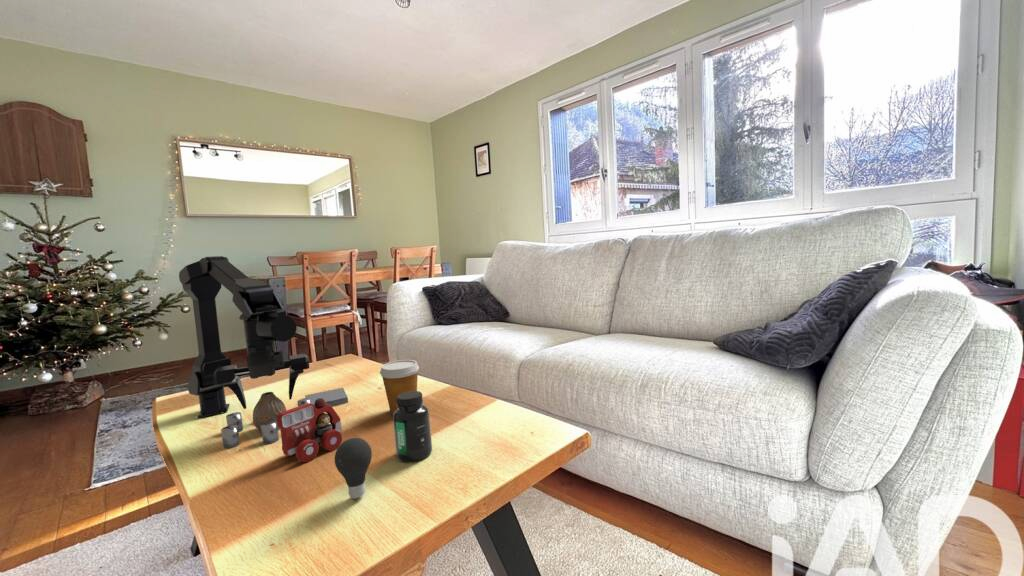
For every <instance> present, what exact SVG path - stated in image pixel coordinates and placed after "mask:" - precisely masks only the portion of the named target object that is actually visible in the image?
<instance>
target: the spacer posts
mask: <svg viewBox="0 0 1024 576" xmlns="http://www.w3.org/2000/svg"><path fill="white" fill-rule="evenodd" d="M307 403H311V398H305V397H304V398H300V399H298V400H297V407H298V406H301V405H304V404H307ZM225 419H226V420H225V421H226V426H224V427H222V428H221V429H220V432H221V440H222V447H223V449H226V450H228V449H233V448H236V447H238V446H239V445H240V444H241V440H240V432H242V431H243V430H244V425H243V417H242V412H240V411H238V412H237V411H236V412H232V413H229V414H227V415H225ZM261 431H262V432H261ZM261 431H260V432H261V438H262V444H264V445H270V444H274V443H276V442H277V441H279V439H280V438H279V431H278V429H277V422H276V421H268V422H265V423H263V424H261Z"/></svg>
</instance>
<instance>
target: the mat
mask: <svg viewBox="0 0 1024 576" xmlns="http://www.w3.org/2000/svg"><path fill="white" fill-rule="evenodd" d="M304 398H311V404H314V403H315V401H316V400H317V399H318V398H322V399H324V400H325V404H328V405H331V406H332V407H334V406H339V405H343V404H348V403H349V398H348V395H347V393H346V391H345V389H344V387H340V388H335V389H330V390H325V391H320V392H315V393H314V392H313V393H310V394H305V395H304Z"/></svg>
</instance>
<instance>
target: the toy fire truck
mask: <svg viewBox="0 0 1024 576" xmlns="http://www.w3.org/2000/svg"><path fill="white" fill-rule="evenodd" d="M276 420H277V426H278V427H279V428H280V429H279V430H280V438H281V450H282V453H283V455H284V456H288V457H294V456H295V457H296V459H297V460H298V461H300V462H301V463H308V462H311V461H313V460H314V459H315V458H316V457H317V455H318V453H319V445H321V448H322V449H324V450H325V451H330V452H331V451H335V450H337V449H338V447H339V446H340V445H341V444H342V442H343V441H342V440H343V435H342V423H341V422H342V421H341V417H340V416H339V414H338V413H337V412H336V411H335V408H333V406H331V405H328V404H325V400H324V399H322V398H318V399H317V400H316V401H315V403H314V404H311V403H307V404H304V405H301V406H298V405H297V406H296V407H293V408H290V409H286V411H283V412H281V413H279V414H278V415H277V417H276Z"/></svg>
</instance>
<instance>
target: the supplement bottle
mask: <svg viewBox="0 0 1024 576" xmlns="http://www.w3.org/2000/svg"><path fill="white" fill-rule="evenodd" d="M397 407H398V409H397V410H396V411H395V412H394V414H393V415H392V421H393V432H394V443H395V444H394V445H395V452H396V458H397V459H398V460H399V461H401V462H404V463H416V462H419V461H422V460H423V461H424V460H425V459H426V458H428V456H430V455H431V454H432V452H433V444H432V443H433V442H432V433H431V431H432V430H431V422H430V421H431V420H430V411H429V408H428V407H427V406H426V405H425V404H424V399H423V393H422V392H421V391H418V390H417V391H409V392H404V393H401V394H399V395H398V396H397Z"/></svg>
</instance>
